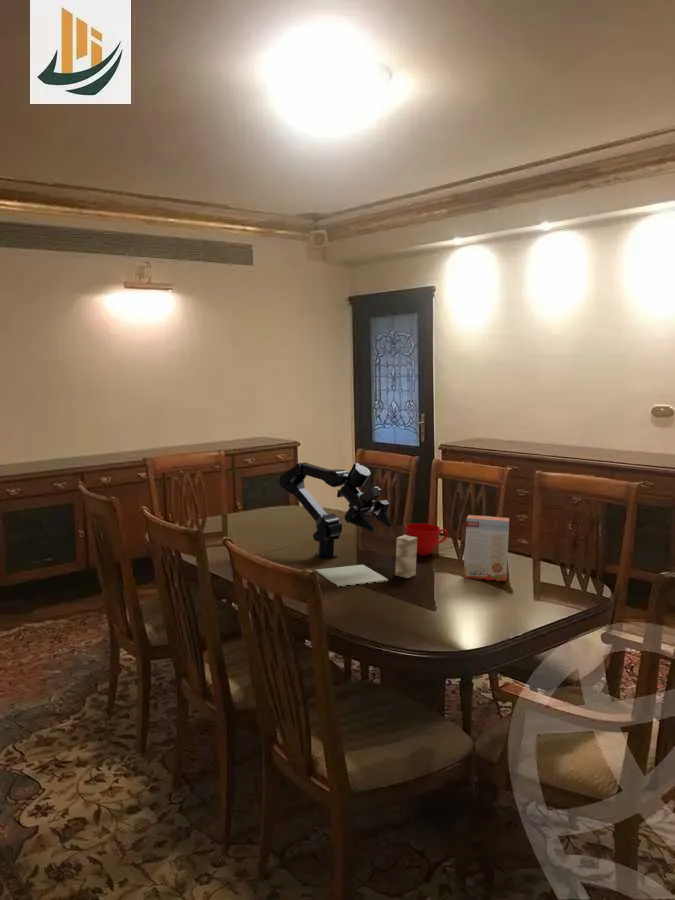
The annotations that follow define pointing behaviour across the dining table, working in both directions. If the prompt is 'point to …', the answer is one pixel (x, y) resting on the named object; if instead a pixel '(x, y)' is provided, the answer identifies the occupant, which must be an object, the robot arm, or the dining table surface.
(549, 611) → the dining table surface
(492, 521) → the cracker box
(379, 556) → the dining table surface
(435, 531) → the ceramic cup
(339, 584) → the sage mat
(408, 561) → the birch block
